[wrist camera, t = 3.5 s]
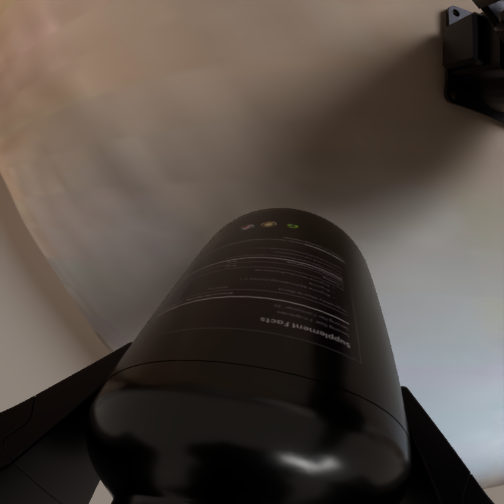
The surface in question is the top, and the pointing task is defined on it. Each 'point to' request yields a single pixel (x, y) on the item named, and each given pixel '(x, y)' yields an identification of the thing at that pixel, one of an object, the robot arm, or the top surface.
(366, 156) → the top surface
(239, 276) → the supplement bottle
